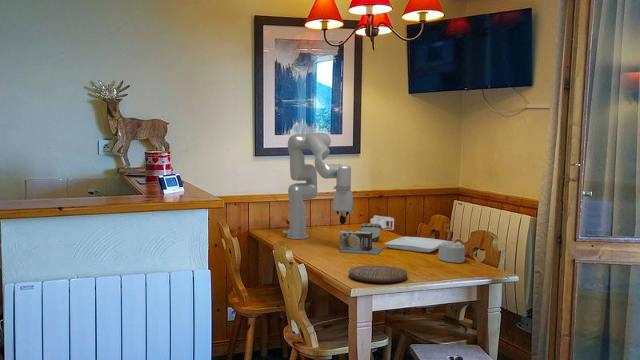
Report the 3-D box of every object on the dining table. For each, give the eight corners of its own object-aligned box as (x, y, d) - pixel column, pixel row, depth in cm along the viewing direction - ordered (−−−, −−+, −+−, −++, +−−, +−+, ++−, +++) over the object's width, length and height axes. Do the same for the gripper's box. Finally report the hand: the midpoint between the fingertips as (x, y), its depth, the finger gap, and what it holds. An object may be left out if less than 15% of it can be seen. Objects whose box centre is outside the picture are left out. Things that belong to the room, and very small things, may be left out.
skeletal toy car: (367, 226, 407) (368, 215, 407) (383, 226, 411) (383, 215, 410) (380, 231, 388) (380, 219, 388) (396, 230, 392) (396, 219, 391)
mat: (339, 252, 316) (339, 251, 316) (347, 245, 335) (347, 244, 335) (377, 254, 311) (378, 253, 311) (383, 247, 330) (383, 247, 330)
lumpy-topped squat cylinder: (452, 256, 309) (452, 239, 309) (469, 261, 298) (470, 243, 297) (435, 258, 304) (436, 240, 304) (452, 263, 293) (453, 245, 292)
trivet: (406, 284, 251) (406, 279, 251) (345, 280, 256) (345, 276, 256) (408, 271, 276) (408, 267, 276) (352, 268, 280) (352, 264, 280)
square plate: (403, 242, 351) (404, 235, 351) (450, 247, 337) (450, 240, 337) (383, 249, 328) (383, 242, 328) (432, 255, 314) (432, 247, 314)
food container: (381, 241, 351) (382, 223, 351) (381, 243, 345) (382, 225, 345) (360, 240, 353) (360, 223, 352) (359, 242, 347) (359, 224, 346)
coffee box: (339, 231, 322) (369, 233, 317) (342, 230, 328) (372, 231, 323) (339, 249, 322) (369, 251, 317) (342, 247, 328) (372, 249, 323)
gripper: (327, 189, 321) (327, 224, 323) (356, 190, 318) (355, 225, 319) (331, 187, 329) (330, 222, 330) (358, 189, 325) (358, 223, 326)
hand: (342, 223), depth 325 cm, fingers closed
